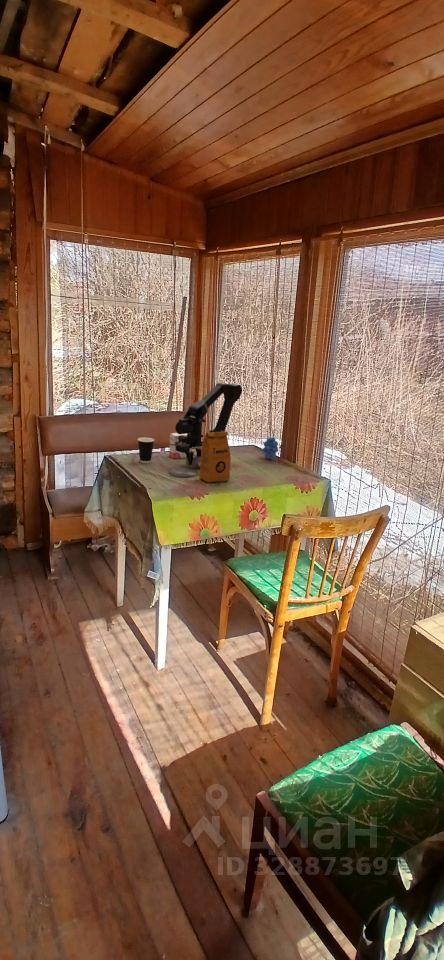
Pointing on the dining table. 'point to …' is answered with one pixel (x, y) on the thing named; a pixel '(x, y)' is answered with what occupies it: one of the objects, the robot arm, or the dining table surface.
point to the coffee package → (215, 457)
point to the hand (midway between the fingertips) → (193, 464)
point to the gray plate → (182, 472)
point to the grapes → (270, 448)
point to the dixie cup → (145, 449)
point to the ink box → (173, 443)
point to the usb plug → (194, 462)
